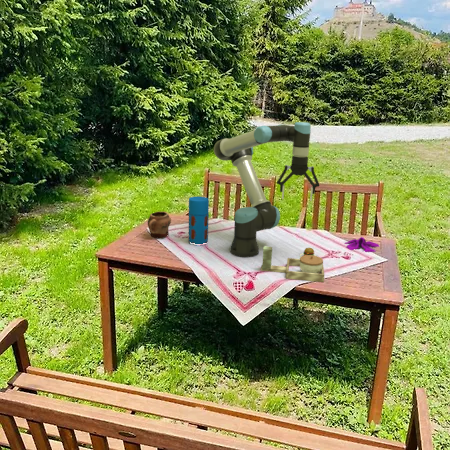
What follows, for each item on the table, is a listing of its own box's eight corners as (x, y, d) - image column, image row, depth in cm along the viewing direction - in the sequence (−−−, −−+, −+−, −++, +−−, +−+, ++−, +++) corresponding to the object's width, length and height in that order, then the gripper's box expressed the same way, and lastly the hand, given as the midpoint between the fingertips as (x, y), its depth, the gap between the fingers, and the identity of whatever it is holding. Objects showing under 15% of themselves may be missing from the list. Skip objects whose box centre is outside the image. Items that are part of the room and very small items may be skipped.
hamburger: (292, 258, 226) (293, 248, 224) (303, 252, 235) (304, 242, 233) (313, 264, 219) (314, 254, 217) (324, 257, 228) (325, 247, 226)
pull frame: (259, 276, 201) (261, 253, 198) (262, 262, 217) (264, 241, 214) (323, 282, 197) (326, 259, 193) (322, 267, 213) (324, 246, 209)
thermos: (200, 247, 236) (201, 202, 228) (184, 243, 241) (184, 199, 234) (211, 241, 245) (212, 198, 237) (196, 237, 250) (196, 195, 242)
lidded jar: (295, 270, 209) (296, 252, 206) (315, 269, 211) (317, 251, 208) (304, 280, 199) (305, 261, 196) (325, 278, 201) (327, 259, 198)
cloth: (379, 244, 250) (381, 234, 248) (379, 255, 233) (381, 244, 231) (340, 239, 257) (341, 229, 255) (337, 249, 240) (338, 238, 238)
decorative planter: (161, 244, 239) (160, 219, 234) (141, 241, 242) (140, 217, 238) (175, 233, 257) (175, 210, 253) (156, 230, 260) (156, 208, 256)
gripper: (326, 156, 208) (322, 199, 214) (274, 153, 211) (271, 195, 218) (327, 158, 201) (323, 203, 207) (273, 155, 204) (270, 199, 211)
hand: (296, 199), depth 212 cm, fingers open, 13 cm apart
